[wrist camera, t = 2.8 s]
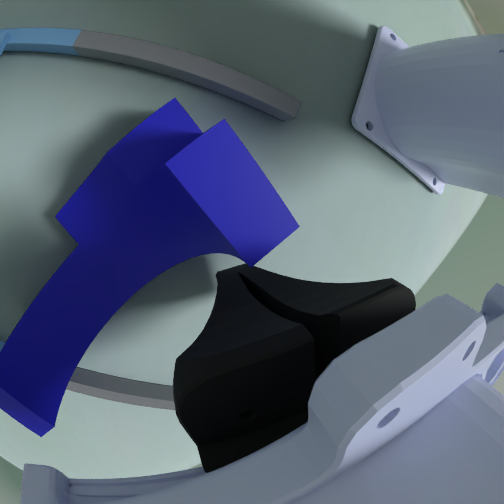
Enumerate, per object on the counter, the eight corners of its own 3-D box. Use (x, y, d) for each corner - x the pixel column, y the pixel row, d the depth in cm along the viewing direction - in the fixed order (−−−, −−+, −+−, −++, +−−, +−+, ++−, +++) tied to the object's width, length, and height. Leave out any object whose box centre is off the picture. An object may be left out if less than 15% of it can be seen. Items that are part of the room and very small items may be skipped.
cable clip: (171, 113, 10) (182, 65, 4) (234, 194, 12) (299, 226, 6) (6, 292, 9) (-48, 363, 4) (65, 349, 11) (41, 436, 6)
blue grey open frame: (289, 106, 11) (308, 100, 9) (183, 396, 14) (187, 417, 13) (-36, 42, 3) (-50, 35, 2) (-72, 309, 6) (-83, 321, 5)
